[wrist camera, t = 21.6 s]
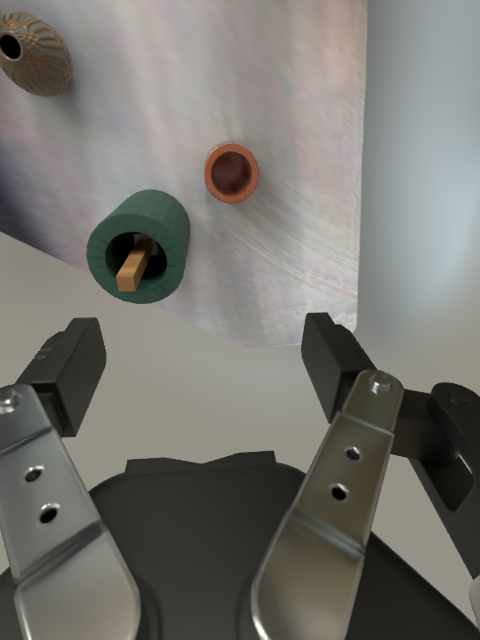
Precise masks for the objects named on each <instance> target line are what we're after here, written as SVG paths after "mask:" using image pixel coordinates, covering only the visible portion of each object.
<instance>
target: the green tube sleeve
mask: <svg viewBox="0 0 480 640" xmlns="http://www.w3.org/2000/svg"><path fill="white" fill-rule="evenodd" d="M134 232H139V233H143V234H146V235H148V236H150V237H152V238H153V239H154V240H156V241H157V242H158V243H159V244H160V246H161V249H160V252H159V254H158V255H151V256H150V259H149V261H148V263H147V266H146V268H145V270H144V273H143V275H142V277H141V280H140V282H139V284H138V287H137V289H136V291H119V289H118V284H117V279H116V276H117V274H118V272H119V271H120V269H121V268H122V266H123V264H124V263H125V261H126V259H127V258H128V256H129V254H130V253H131V251H132V249H133V248H134V246H135V243H134V236H133V234H134ZM189 236H190V223H189V219H188V216H187V213H186V211H185V210H184V208H183V207H182V205H181V204H180V203H179V202H178V201H177V200H176V199H175V198H174V197H172V196H170V195H169V194H167V193H164V192H162V191H158V190H144V191H140V192H137V193H135V194H133V195H132V196H130V197H129V198H128V199H126V200H125V201H124V202H123V203H122V204H121V205H120V206H119V207H118V208H116V209H115V210H114V211H113V212H112V213H111V214H110V215H109V216H107V217H106V218H105V219H104V220H103V221H102V222H101V223H100V224H99V225H98V226H97V227H96V228H95V230H94V231H93V232H92V234H91V236H90V238H89V241H88V244H87V261H88V265H89V269H90V271H91V273H92V275H93V277H94V278H95V280H96V281H97V282H98V283H99V285H101V287H102V288H103V289H104V290H106V291H107V292H108V293H110V294H111V295H113V296H114V297H116V298H119V299H121V300H123V301H126V302H131V303H136V304H145V303H147V304H148V303H153V302H157V301H160V300H162V299H164V298H166V297H167V296H169V295H170V294H171V293H172V292H173V291H174V290H175V289H176V288H177V287H178V285H179V284H180V282H181V280H182V278H183V274H184V269H185V263H186V256H187V249H188V242H189Z"/></svg>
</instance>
